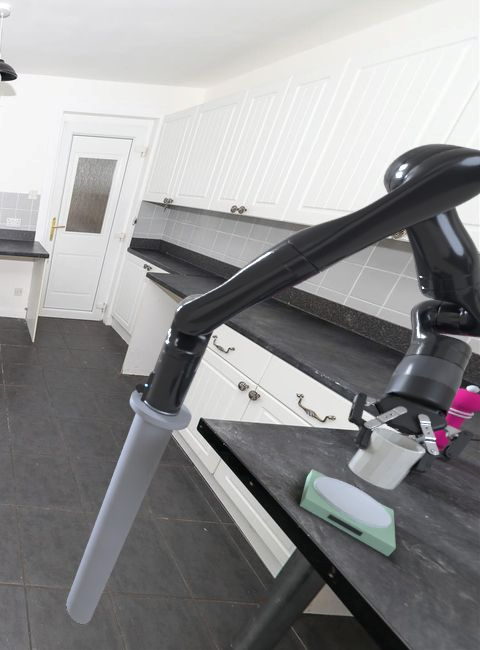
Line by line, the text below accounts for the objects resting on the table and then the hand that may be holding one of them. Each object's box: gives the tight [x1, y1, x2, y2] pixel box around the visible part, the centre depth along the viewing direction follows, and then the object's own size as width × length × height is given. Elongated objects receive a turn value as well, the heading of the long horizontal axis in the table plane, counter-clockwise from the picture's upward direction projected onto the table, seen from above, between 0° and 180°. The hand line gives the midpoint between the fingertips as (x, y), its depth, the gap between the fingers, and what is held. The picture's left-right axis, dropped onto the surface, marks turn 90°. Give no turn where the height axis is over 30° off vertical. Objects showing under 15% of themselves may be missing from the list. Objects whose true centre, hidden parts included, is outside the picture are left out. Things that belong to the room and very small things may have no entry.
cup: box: [348, 427, 426, 490], centre depth 62 cm, size 6×6×9 cm
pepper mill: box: [434, 385, 480, 450], centre depth 84 cm, size 7×7×20 cm
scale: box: [299, 469, 397, 557], centre depth 66 cm, size 12×12×3 cm
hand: (387, 459), depth 60 cm, fingers closed on cup, 6 cm apart
